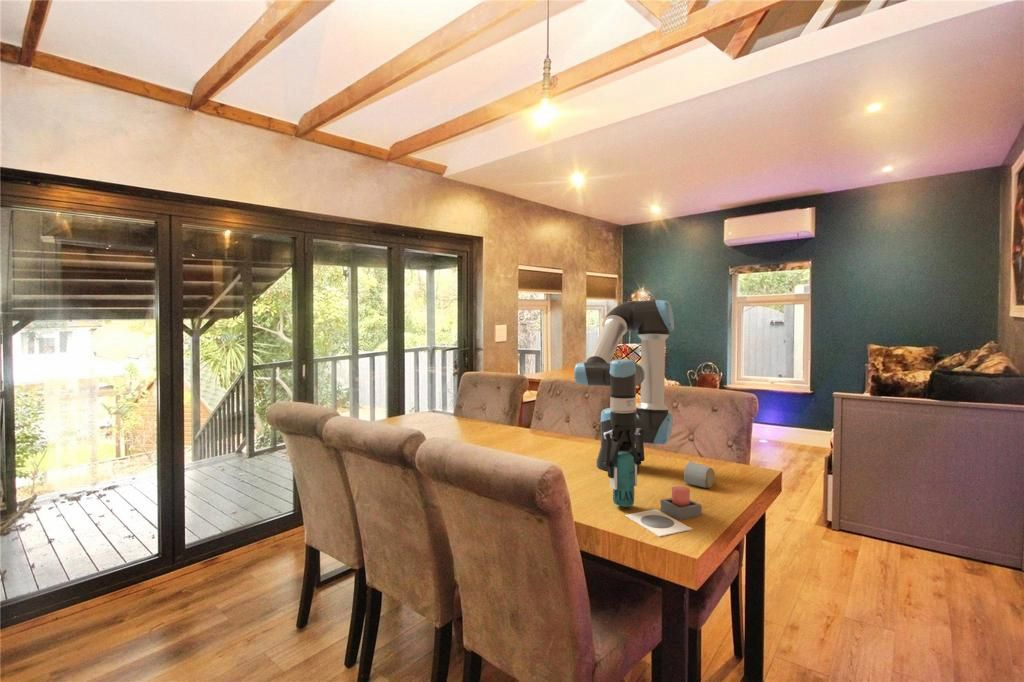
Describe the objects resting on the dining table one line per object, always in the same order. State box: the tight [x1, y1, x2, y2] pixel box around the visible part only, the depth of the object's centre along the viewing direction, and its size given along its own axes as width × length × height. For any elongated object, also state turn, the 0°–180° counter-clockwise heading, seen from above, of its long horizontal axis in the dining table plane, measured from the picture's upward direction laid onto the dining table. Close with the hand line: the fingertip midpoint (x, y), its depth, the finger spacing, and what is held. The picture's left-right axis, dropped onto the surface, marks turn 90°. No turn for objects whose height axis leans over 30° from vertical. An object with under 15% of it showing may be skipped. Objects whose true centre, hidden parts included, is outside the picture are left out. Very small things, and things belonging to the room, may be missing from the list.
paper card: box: [624, 508, 693, 538], centre depth 133 cm, size 15×11×1 cm
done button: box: [671, 485, 691, 507], centre depth 140 cm, size 5×5×5 cm
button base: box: [660, 497, 703, 521], centre depth 140 cm, size 8×8×3 cm
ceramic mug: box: [683, 461, 715, 489], centre depth 164 cm, size 11×8×8 cm
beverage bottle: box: [612, 441, 636, 507], centre depth 144 cm, size 6×7×20 cm
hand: (623, 486), depth 144 cm, fingers closed on beverage bottle, 6 cm apart
